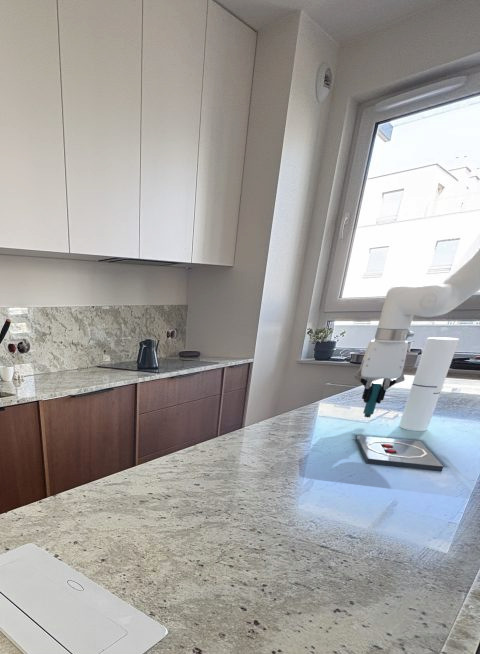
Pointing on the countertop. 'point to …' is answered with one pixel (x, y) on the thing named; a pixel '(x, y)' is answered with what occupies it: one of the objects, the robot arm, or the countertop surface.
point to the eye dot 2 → (390, 451)
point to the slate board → (397, 453)
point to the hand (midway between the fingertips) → (371, 401)
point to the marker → (372, 399)
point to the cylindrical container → (428, 382)
